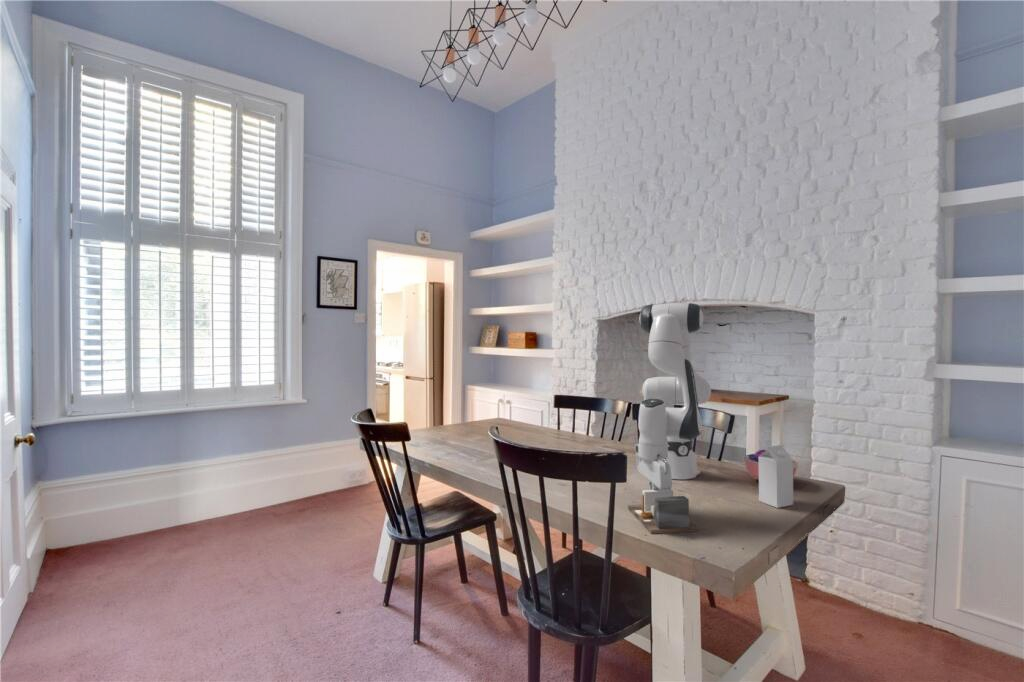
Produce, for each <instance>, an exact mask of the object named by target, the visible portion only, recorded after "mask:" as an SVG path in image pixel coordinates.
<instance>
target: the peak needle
mask: <svg viewBox="0 0 1024 682" xmlns="http://www.w3.org/2000/svg"><path fill="white" fill-rule="evenodd" d="M641 495H642V494H641ZM641 502H642V503H641V504H642V509H643V512H641V516H642V517H646V516H651V512H644V495H642V500H641Z"/></svg>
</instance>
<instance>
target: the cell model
mask: <svg viewBox="0 0 1024 682" xmlns="http://www.w3.org/2000/svg"><path fill="white" fill-rule="evenodd" d="M765 451H767V449H760V450H757V451H756V452H755V453H751V454H746V455H743V457H741V458H742V461H743V463H744V466H745V469H746V471H747V473H748V474H749V475H750V476H751V477H752V478H753V479H755V480H756V481H759V459H758V457H759V456H760V455H761V454H763V453H764V452H765ZM798 467H799V463H798V462H797V461H796V460H794V459H793V479H794V478H795V476H796V474H797V470H798Z"/></svg>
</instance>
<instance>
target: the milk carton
mask: <svg viewBox="0 0 1024 682" xmlns="http://www.w3.org/2000/svg"><path fill="white" fill-rule="evenodd" d="M758 459H759V480H758V501H759V502H761V503H763V504H765V505H769V506H772V507H774V508H776V509H779V508H783V507H784V508H785V507H788V506H793V505H794V478H793V460H794V459H793V458H792V456H791V455H790V454H789V453H788V451H787V450H786V449H785V447H784V444H778V445H770V446H769V445H768V446H766V451H765V452H764V453H763V454H761V455H760V456H759V457H758Z"/></svg>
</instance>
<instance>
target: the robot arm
mask: <svg viewBox="0 0 1024 682" xmlns="http://www.w3.org/2000/svg"><path fill="white" fill-rule="evenodd" d="M638 319H639V324H640V328H641V329H642V330H643V331H644V332H646V333H649V337H648V344H647V345H648V346H647V348H648V349H647V354H648V355H647V357H648V359H649V362H650V364H652V366H653V367H654V368H656V369H657V370H659V371H661V372H663V373H666V374H668V375H671V376H655V377H649V378H646V379H645V381H644V382H643V384H642V386H641V387H642V388H641V391H642V396H643V398H644V400H642V401H641V402H640V404H639V408H638V409H639V410H638V419H637V420H638V426H637V427H638V430H639V438H638V443H637V444H634V451H635V452H636V454H635V459H636V467H637V471H638V473H640V475H642V476H643V477H644V478H645V479H646V480H647V483H648V488H649V490H657V489H660V490H668V489H671V490H672V486H673V480H691V479H695V478H696V477H697V476H699V475H701V470H699V469H698V464H697V455H696V452H694V451H693V449H694V448H693V447H694V446H693V445H694V442H693V440H694V439H696V438H698V437H699V436H700V435H701V434H702V430H703V421H702V416H701V413H700V409H699V405H702V404H703V405H704V404H706V403H707V402H708V401H709V399H710V397H711V395H712V388H711V385H710V383H709V382H708V380H707V379H705V378H704V377H702V376H701V375H700V374H699V373H698V372H697V371H696V370H695V368H694V366H693V364H692V359H691V345H690V344H691V342H690V341H691V339H690V334H692V333H696V332H697V331H699V330H700V329H701V327H702V325H703V323H704V313H703V311H702V308H701V306H700V305H699V304H696V303H691V302H689V303H682V302H670V303H659V304H658V303H657V304H653V303H651V304H646V305H644V306H643V307H642V308H641V310H640V313H639V317H638ZM675 405H683V406H682V407H675Z"/></svg>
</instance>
